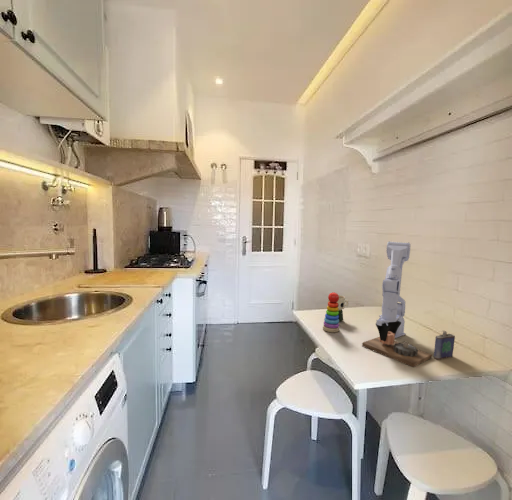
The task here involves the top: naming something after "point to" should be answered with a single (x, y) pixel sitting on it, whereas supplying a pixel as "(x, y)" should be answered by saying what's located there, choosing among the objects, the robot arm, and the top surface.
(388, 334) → the terracotta gear
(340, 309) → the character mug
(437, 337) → the flask
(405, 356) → the board
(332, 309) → the stacking toy
